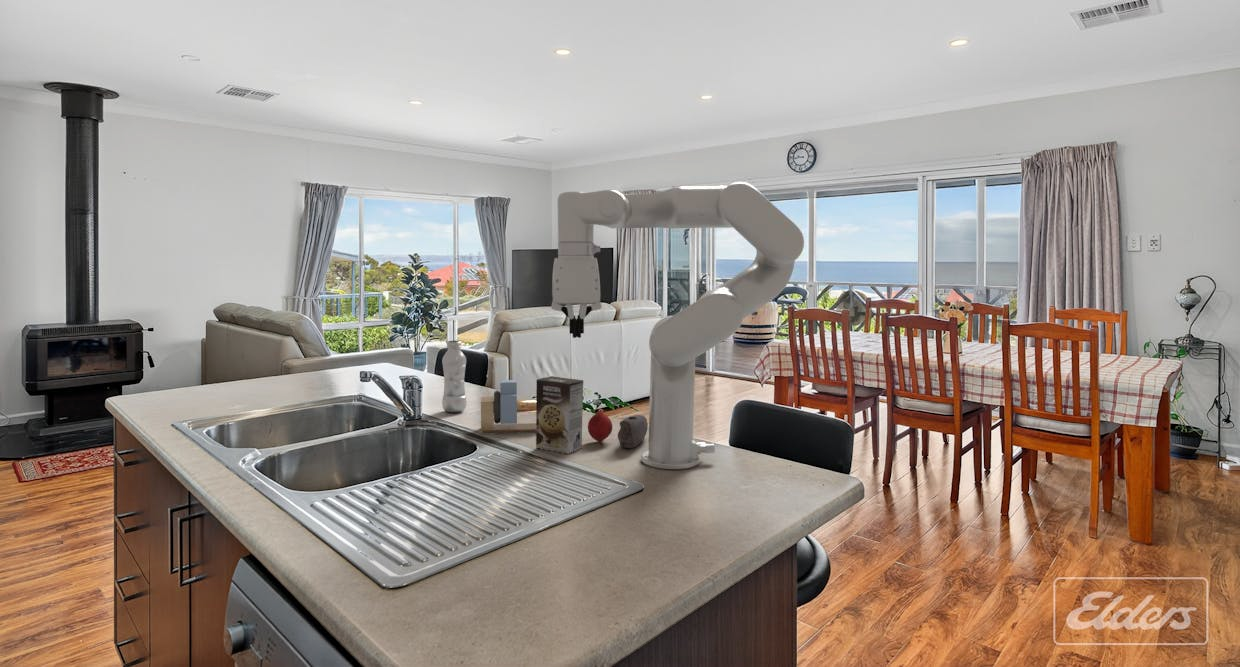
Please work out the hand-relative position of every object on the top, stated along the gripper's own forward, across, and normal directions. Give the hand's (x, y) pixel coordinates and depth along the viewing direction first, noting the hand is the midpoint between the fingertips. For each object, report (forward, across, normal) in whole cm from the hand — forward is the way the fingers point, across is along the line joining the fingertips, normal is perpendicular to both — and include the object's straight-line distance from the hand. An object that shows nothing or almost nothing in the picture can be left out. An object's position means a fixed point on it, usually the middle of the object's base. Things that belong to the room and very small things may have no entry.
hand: (576, 336), depth 145 cm
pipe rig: (+26, +14, -25) cm, 39 cm away
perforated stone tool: (+27, -14, -10) cm, 32 cm away
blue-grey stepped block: (+24, +16, -25) cm, 38 cm away
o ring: (+24, +18, -25) cm, 39 cm away
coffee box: (+27, +4, -8) cm, 28 cm away
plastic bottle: (+26, +31, -46) cm, 62 cm away
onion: (+27, -6, -12) cm, 30 cm away
